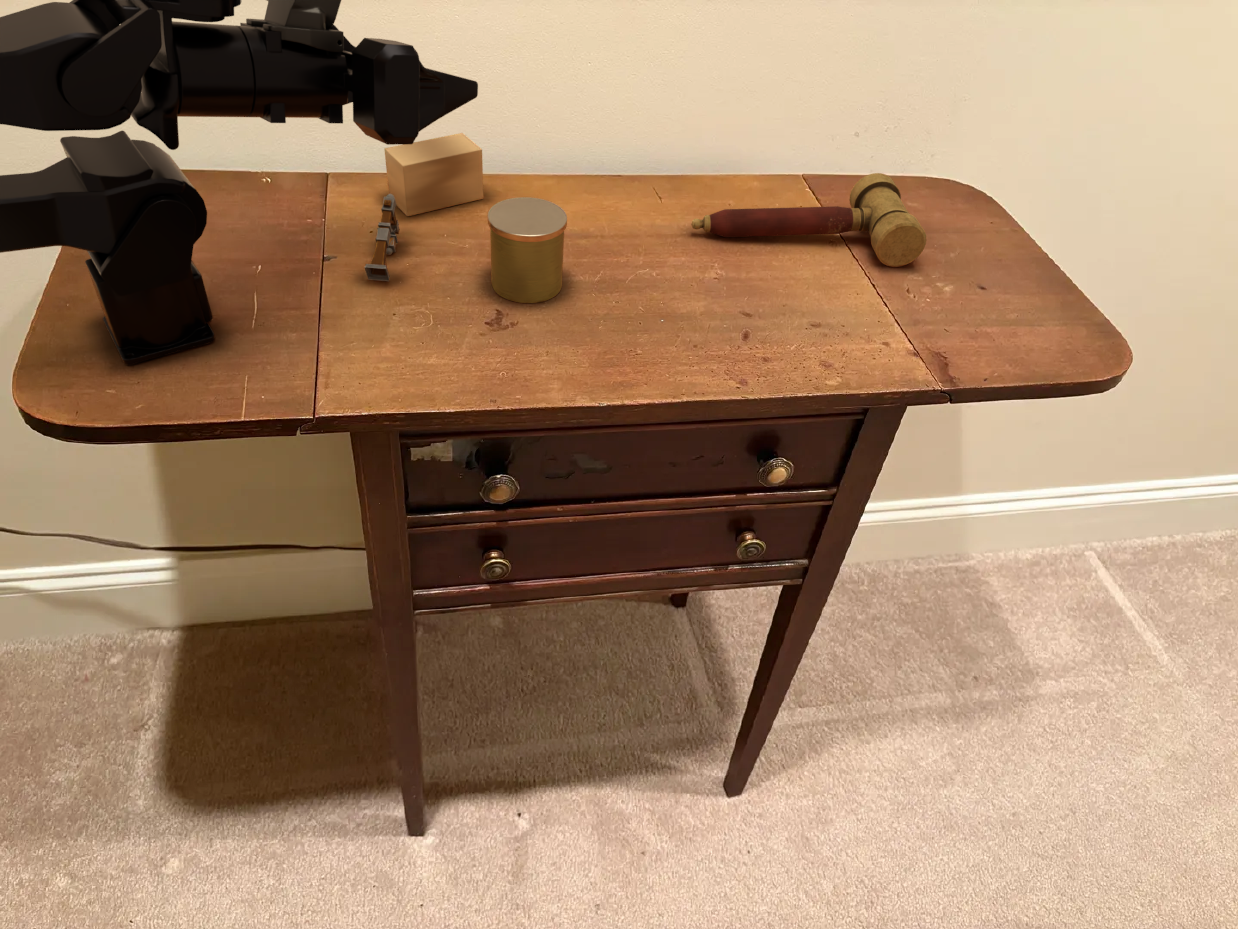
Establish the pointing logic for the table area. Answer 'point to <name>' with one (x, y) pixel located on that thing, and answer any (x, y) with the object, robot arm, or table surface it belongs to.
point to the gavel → (835, 221)
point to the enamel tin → (527, 249)
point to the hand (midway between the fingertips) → (446, 79)
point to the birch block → (434, 173)
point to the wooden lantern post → (384, 241)
